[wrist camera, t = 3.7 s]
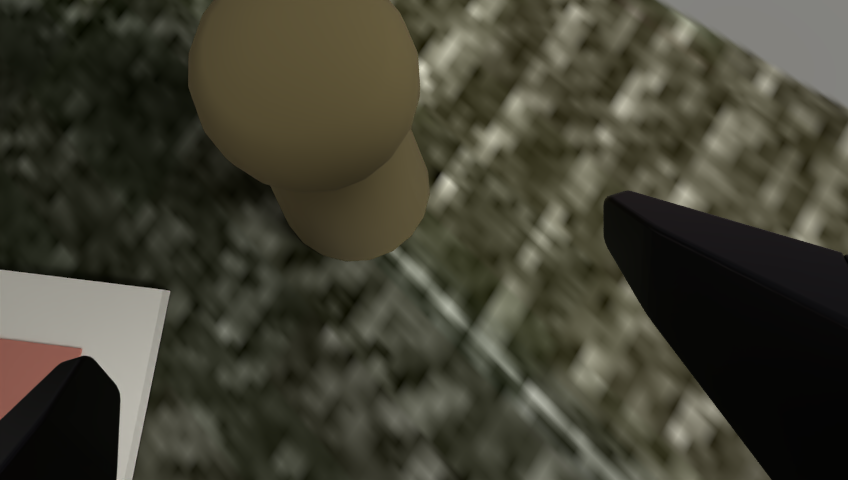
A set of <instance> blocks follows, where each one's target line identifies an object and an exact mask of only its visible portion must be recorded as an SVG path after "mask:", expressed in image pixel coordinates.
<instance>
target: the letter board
mask: <svg viewBox="0 0 848 480" xmlns="http://www.w3.org/2000/svg"><path fill="white" fill-rule="evenodd" d="M169 295H170V291H168V290H162V289H154V288H145V287H137V286H129V285H121V284H113V283H105V282H97V281H89V280H81V279H72V278H64V277H56V276H48V275H40V274H32V273H24V272H16V271H8V270H0V420H1V419H2V418H3V417H4V416H5V415H6V414H7V413H8V412H9V411H10V410H11V409H12V408H13V407H14V406H15V405H16V404H17V403H18V402H20V401H21V400H22V399H23V398H24V397H25V396H26V395H27V394H28V393H29V392H30V391H31V390H32V389H33V388H34V387H35V386H36V385H37V384H38V383H39V382H40V381H42V380H43V379H44V378H45V377H46V376H47V375H48V374H49V373H50V372H51V371H52V370H53V369H54V368H55V367H56V366H57V365H58V364H60V363H62V362H64V361H67V360H70V359H74V358H77V357H80V356H90V357H92V358H93V359H94V360H95V361H96V362H97V363H98V364H99V365H100V366H101V368H102V369H103V370H104V371H105V372H106V373H107V375H108V376H109V377H110V378H111V379H112V380H113V381H114V383H115V384H116V385H117V387H118V389H119V392H120V398H121V402H120V424H119V446H118V467H117V480H132V478H133V473H134V468H135V463H136V458H137V453H138V448H139V443H140V438H141V433H142V428H143V423H144V418H145V413H146V409H147V404H148V399H149V394H150V389H151V384H152V379H153V374H154V369H155V364H156V359H157V354H158V349H159V344H160V340H161V335H162V330H163V325H164V320H165V315H166V310H167V305H168V300H169Z"/></svg>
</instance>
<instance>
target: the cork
mask: <svg viewBox="0 0 848 480" xmlns="http://www.w3.org/2000/svg"><path fill="white" fill-rule="evenodd" d="M188 87H189V90H190V93H191V96H192V99H193V102H194V105H195V108H196V111H197V113H198V116H199V119H200V122H201V125H202V127H203V130H204V132H205V133H206V134H207V135H208V137H209V138H210V139H211V140H212V142H213V143H214V144H215V145H216V147H217V148H218V149H219V150H220V152H221V153H222V154H223V155H224V157H225V158H226V159H227V160H229V161H230V162H231V163H232V164H233V165H235V166H236V167H238V168H239V169H241V170H242V171H244V172H246V173H247V174H249V175H250V176H252V177H253V178H255V179H257V180H258V181H260V182H261V183H263V184H266V185H270V186H271V188H272V191H273V193H274V195H275V197H276V199H277V201H278V203H279V205H280V207H281V210H282V212H283V214H284V216H285V218H286V220H287V222H288V224H289V226H290V227H291V228H292V229H293V231H294V232H295V233H296V234H297V236H298V237H299V238H300V239H301V241H302V242H303V243H304V244H306V245H307V246H309V247H311V248H312V249H314V250H315V251H317V252H318V253H320V254H322V255H323V256H327V257H331V258H335V259H339V260H343V261H359V260H371V259H374V258H376V257H379V256H381V255H384V254H386V253H389V252H392V251H393V250H395V249H396V248H397V247H398V246H399V245H401V244H402V243H403V242H404V241H406V240H407V239H408V238H409V237H411V235H412V234H413V232H414V231H415V229H416V228H417V226H418V225H419V223H420V222H421V220H422V218H423V217H424V214H425V210H426V206H427V202H428V198H429V195H430V193H429V178H428V170H427V168H426V165H425V163H424V160H423V158H422V155H421V153H420V150H419V148H418V145H417V143H416V140H415V138H414V135H413V133H412V130H411V127H412V123H413V119H414V116H415V112H416V108H417V105H418V101H419V97H420V79H419V65H418V53H417V50H416V48H415V46H414V43H413V41H412V39H411V36H410V34H409V31H408V29H407V27H406V24H405V22H404V20H403V18H402V16H401V14H400V12H399V11H398V10H397V9H396V8H395V7H394V5H393V4H392V3H391V2H390V1H389V0H213V2H212V3H211V4H210V6H209V7H208V8H207V9H206V11H205V12H204V13H203V15H202V18H201V20H200V23H199V26H198V29H197V32H196V34H195V37H194V40H193V43H192V46H191V48H190V51H189V64H188Z"/></svg>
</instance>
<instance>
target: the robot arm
mask: <svg viewBox="0 0 848 480" xmlns="http://www.w3.org/2000/svg"><path fill="white" fill-rule="evenodd" d="M604 240H605V243H606V245H607V248H608V249H609V251H610V253H611V255H612V256H613V258H614V260H615V261H616V263H617V265H618V267H619V268H620V270H621V272H622V273H623V275H624V277H625V279H626V280H627V282H628V284H629V285H630V287H631V289H632V290H633V292H634V294H635V296H636V297H637V299H638V301H639V302H640V304H641V306H642V307H643V309H644V311H645V312H646V314H647V315H648V317H649V318H650V319H651V321H652V322H653V324H654V325H655V326H656V328H657V329H658V330H659V332H660V333H661V334H662V336H663V337H664V338H665V339H666V341H667V342H668V343H669V345H670V346H671V347H672V349H673V350H674V351H675V353H676V354H677V355H678V357H679V358H680V359H681V361H682V362H683V363H684V365H685V366H686V367H687V369H688V370H689V371H690V373H691V374H692V375H693V376H694V378H695V379H696V380H697V382H698V383H699V384H700V386H701V387H702V388H703V390H704V391H705V392H706V394H707V395H708V396H709V398H710V399H711V400H712V402H713V403H714V404H715V406H716V407H717V408H718V409H719V411H720V412H721V413H722V415H723V416H724V417H725V419H726V420H727V421H728V423H729V424H730V425H731V427H732V428H733V429H734V431H735V432H736V433H737V435H738V436H739V437H740V439H741V440H742V441H743V443H744V444H745V445H746V446H747V448H748V449H749V450H750V452H751V453H752V454H753V456H754V457H755V458H756V460H757V461H758V462H759V464H760V465H761V466H762V468H763V469H764V470H765V472H766V473H767V474H768V476H769V477H770V478H771V479H772V480H848V255H845V256H843V254H842V253H841V252H838V251H834V250H831V249H827V248H824V247H821V246H817V245H814V244H810V243H807V242H804V241H800V240H797V239H793V238H790V237H786V236H783V235H780V234H776V233H773V232H769V231H766V230H762V229H759V228H756V227H752V226H749V225H745V224H742V223H738V222H735V221H732V220H728V219H725V218H721V217H718V216H715V215H711V214H708V213H704V212H701V211H697V210H694V209H691V208H687V207H684V206H680V205H677V204H673V203H670V202H667V201H663V200H660V199H656V198H653V197H650V196H646V195H643V194H639V193H636V192H632V191H623V192H620V193H617V194H614V195H610V196H608V197H607V198H606V199H605V201H604ZM120 402H121V398H120V392H119V389H118V387H117V385H116V384H115V383H114V381H113V380H112V379H111V378H110V377H109V376H108V375H107V373H106V372H105V371H104V370H103V369H102V368H101V366H100V365H99V364H98V363H97V362H96V361H95V360H94V359H93V358H92V357H90V356H80V357H77V358H74V359H70V360H67V361H64V362H62V363H60V364H58V365H57V366H56V367H55V368H54V369H53V370H52V371H51V372H50V373H49V374H48V375H47V376H46V377H45V378H44V379H43V380H42V381H40V382H39V383H38V384H37V385H36V386H35V387H34V388H33V389H32V390H31V391H30V392H29V393H28V394H27V395H26V396H25V397H24V398H23V399H22V400H21V401H20V402H18V403H17V404H16V405H15V406H14V407H13V408H12V409H11V410H10V411H9V412H8V413H7V414H6V415H5V416H4V417H3V418H2V419H1V420H0V480H117V467H118V446H119V424H120Z"/></svg>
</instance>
